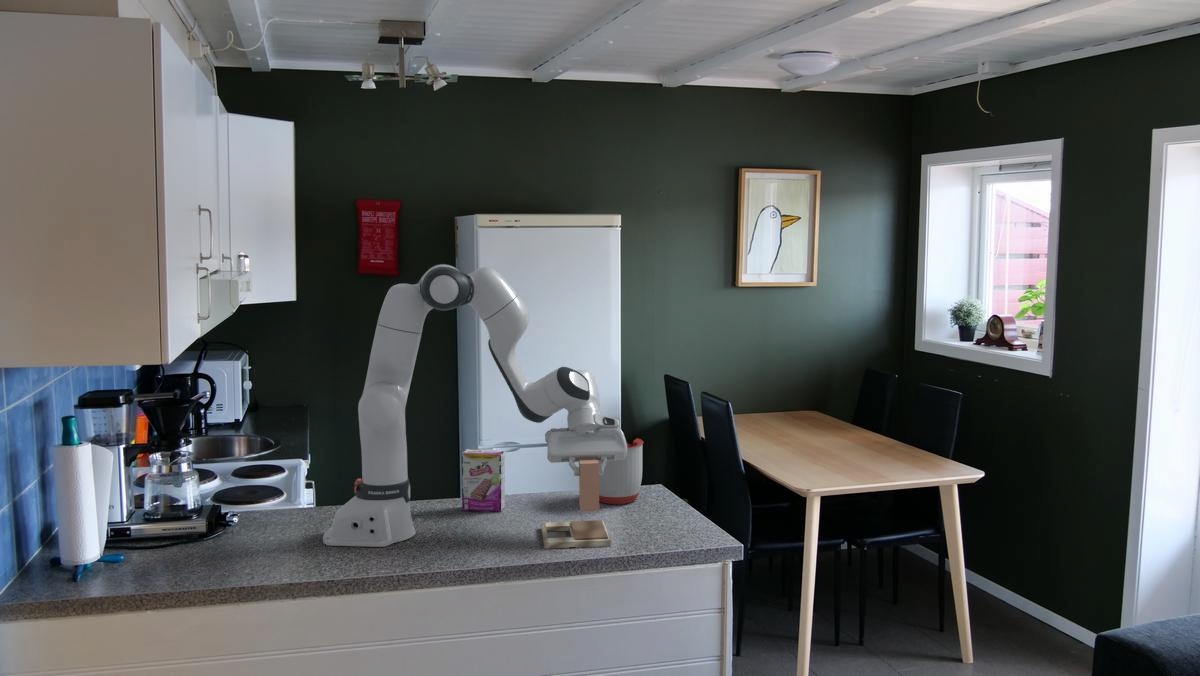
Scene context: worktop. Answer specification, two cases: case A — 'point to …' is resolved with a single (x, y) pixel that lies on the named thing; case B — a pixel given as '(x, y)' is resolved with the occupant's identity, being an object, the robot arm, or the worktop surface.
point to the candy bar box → (483, 480)
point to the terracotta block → (589, 485)
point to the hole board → (575, 534)
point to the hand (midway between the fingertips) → (589, 474)
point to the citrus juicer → (622, 477)
